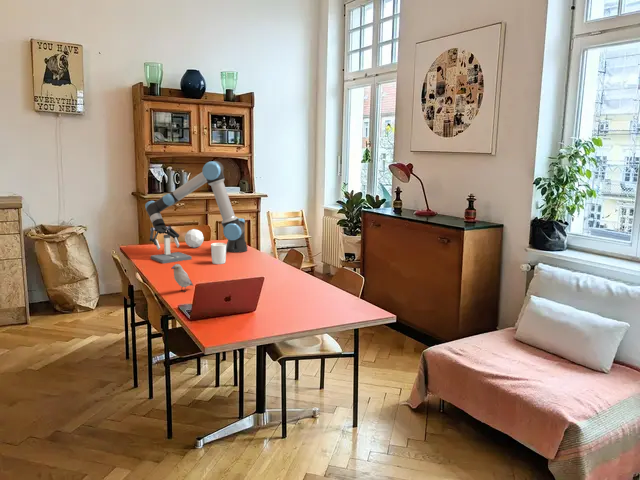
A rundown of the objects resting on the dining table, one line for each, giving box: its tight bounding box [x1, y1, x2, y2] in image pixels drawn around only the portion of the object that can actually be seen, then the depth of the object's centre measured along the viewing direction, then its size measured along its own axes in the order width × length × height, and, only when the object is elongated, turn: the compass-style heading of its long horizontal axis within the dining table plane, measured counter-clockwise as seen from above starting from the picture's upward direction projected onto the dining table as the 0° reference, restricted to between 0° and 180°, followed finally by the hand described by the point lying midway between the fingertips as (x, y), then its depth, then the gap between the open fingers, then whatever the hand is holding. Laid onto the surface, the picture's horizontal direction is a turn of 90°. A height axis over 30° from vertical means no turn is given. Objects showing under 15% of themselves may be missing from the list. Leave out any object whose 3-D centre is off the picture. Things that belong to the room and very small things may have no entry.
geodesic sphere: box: [184, 228, 205, 249], centre depth 385 cm, size 14×14×14 cm
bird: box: [171, 263, 194, 293], centre depth 274 cm, size 5×14×15 cm, turn 142°
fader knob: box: [163, 234, 171, 255], centre depth 349 cm, size 3×3×13 cm
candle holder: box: [210, 242, 227, 265], centre depth 339 cm, size 10×10×12 cm
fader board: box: [150, 251, 193, 264], centre depth 346 cm, size 20×17×2 cm
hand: (168, 247), depth 347 cm, fingers open, 13 cm apart
